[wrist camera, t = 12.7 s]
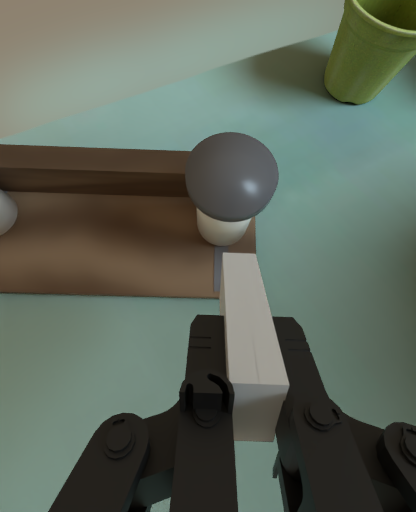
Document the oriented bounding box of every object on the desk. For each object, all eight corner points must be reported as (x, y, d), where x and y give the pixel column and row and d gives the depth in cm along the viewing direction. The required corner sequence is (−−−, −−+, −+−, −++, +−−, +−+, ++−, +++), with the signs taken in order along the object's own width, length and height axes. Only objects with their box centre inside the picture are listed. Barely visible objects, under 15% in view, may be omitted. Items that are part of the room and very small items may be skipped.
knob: (254, 253, 24) (280, 217, 16) (188, 251, 23) (182, 214, 16) (253, 194, 25) (276, 134, 17) (191, 192, 25) (187, 130, 17)
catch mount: (254, 299, 24) (268, 292, 19) (-50, 291, 23) (-115, 281, 19) (252, 185, 27) (263, 154, 22) (-20, 176, 26) (-69, 141, 21)
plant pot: (289, 74, 30) (323, -23, 22) (351, 37, 32) (404, -67, 24) (348, 133, 29) (409, 52, 20) (410, 91, 30) (490, -1, 22)
